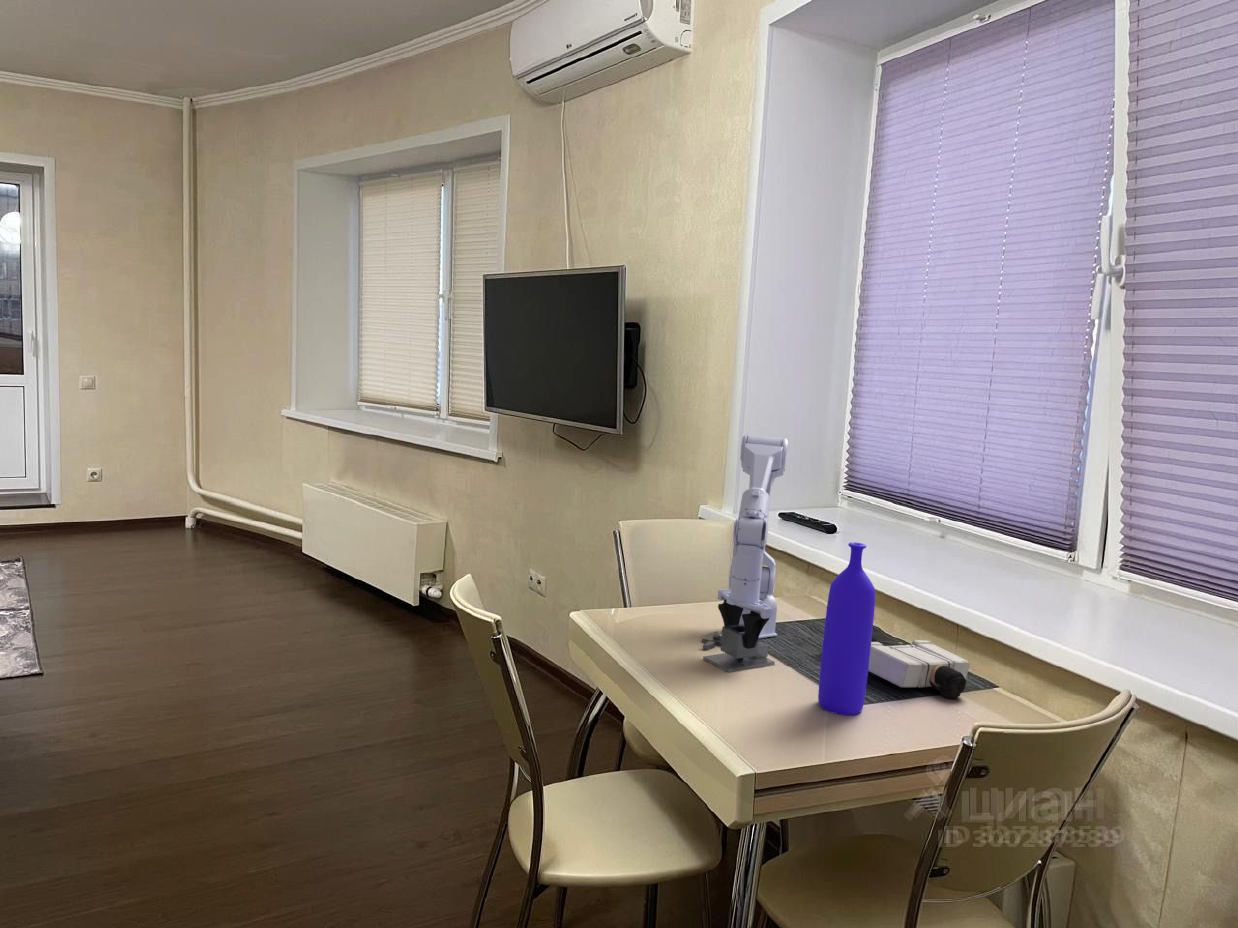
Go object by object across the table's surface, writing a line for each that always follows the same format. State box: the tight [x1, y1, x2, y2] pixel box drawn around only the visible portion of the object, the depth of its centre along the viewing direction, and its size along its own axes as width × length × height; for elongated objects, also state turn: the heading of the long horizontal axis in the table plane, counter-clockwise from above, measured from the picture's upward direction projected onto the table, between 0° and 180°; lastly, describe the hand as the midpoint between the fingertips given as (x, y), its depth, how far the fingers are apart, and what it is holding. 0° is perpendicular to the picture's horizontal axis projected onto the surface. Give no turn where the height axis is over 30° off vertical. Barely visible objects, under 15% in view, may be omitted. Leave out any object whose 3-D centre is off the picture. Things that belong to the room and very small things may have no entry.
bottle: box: [817, 541, 876, 716], centre depth 168 cm, size 8×8×30 cm
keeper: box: [702, 641, 776, 673], centre depth 190 cm, size 12×8×4 cm, turn 123°
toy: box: [868, 625, 971, 700], centre depth 190 cm, size 19×7×30 cm
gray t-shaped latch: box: [701, 631, 722, 651], centre depth 200 cm, size 10×5×2 cm, turn 152°
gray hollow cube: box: [720, 624, 760, 659], centre depth 189 cm, size 5×5×5 cm
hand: (740, 643), depth 190 cm, fingers closed on gray hollow cube, 5 cm apart
